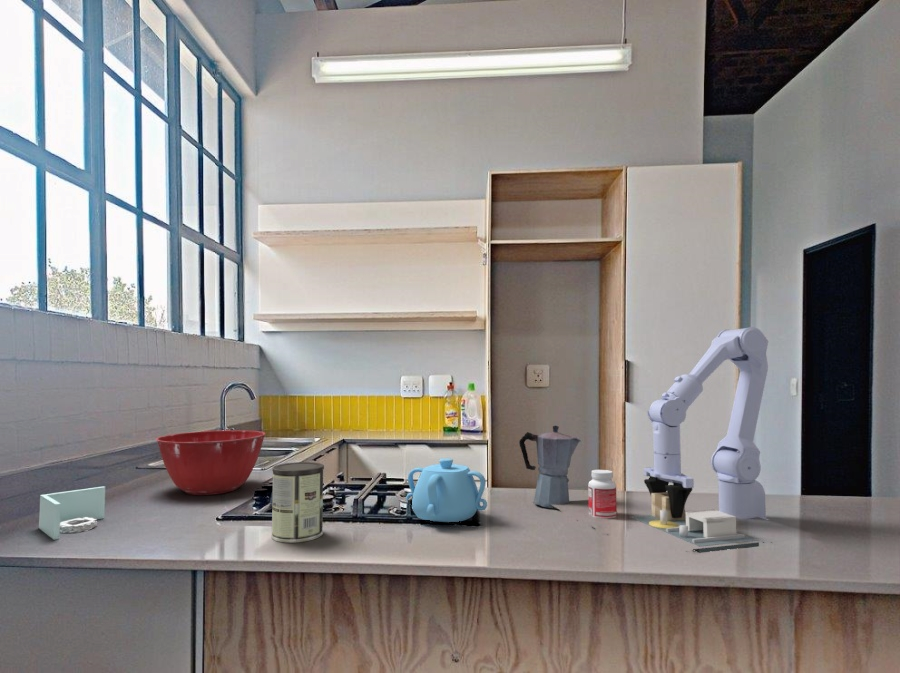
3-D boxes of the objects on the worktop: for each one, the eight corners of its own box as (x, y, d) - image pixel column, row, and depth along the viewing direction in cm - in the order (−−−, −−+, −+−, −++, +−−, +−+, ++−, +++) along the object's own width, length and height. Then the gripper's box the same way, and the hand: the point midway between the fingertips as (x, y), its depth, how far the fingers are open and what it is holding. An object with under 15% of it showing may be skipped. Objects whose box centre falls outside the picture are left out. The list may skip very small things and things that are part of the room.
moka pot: (585, 510, 136) (584, 427, 137) (522, 509, 136) (521, 427, 137) (576, 501, 145) (576, 423, 147) (517, 500, 146) (517, 423, 147)
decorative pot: (492, 525, 123) (492, 463, 123) (422, 531, 117) (423, 466, 118) (466, 508, 138) (466, 452, 139) (403, 513, 133) (403, 455, 133)
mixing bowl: (129, 499, 145) (131, 439, 146) (196, 478, 173) (198, 428, 174) (229, 504, 140) (231, 442, 141) (281, 481, 168) (282, 430, 169)
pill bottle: (622, 521, 126) (621, 471, 127) (604, 525, 123) (603, 474, 123) (601, 515, 131) (600, 467, 132) (582, 519, 128) (582, 470, 128)
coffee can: (290, 526, 121) (292, 460, 122) (332, 531, 117) (333, 463, 118) (259, 539, 111) (261, 468, 112) (304, 545, 108) (305, 471, 109)
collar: (670, 513, 128) (669, 491, 128) (685, 519, 123) (684, 496, 124) (651, 515, 127) (651, 493, 127) (666, 521, 122) (665, 497, 122)
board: (681, 517, 130) (681, 499, 130) (758, 546, 108) (758, 524, 109) (629, 521, 125) (629, 503, 126) (699, 552, 104) (698, 529, 105)
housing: (713, 526, 116) (713, 509, 117) (736, 535, 111) (735, 516, 111) (685, 529, 114) (685, 511, 115) (707, 538, 109) (706, 519, 109)
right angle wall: (53, 542, 111) (55, 504, 111) (38, 530, 119) (40, 495, 119) (120, 529, 119) (121, 494, 120) (102, 519, 127) (103, 486, 128)
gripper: (632, 449, 132) (633, 507, 131) (673, 458, 118) (674, 524, 117) (657, 448, 134) (658, 505, 133) (701, 457, 120) (702, 521, 119)
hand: (668, 514), depth 125 cm, fingers open, 5 cm apart
